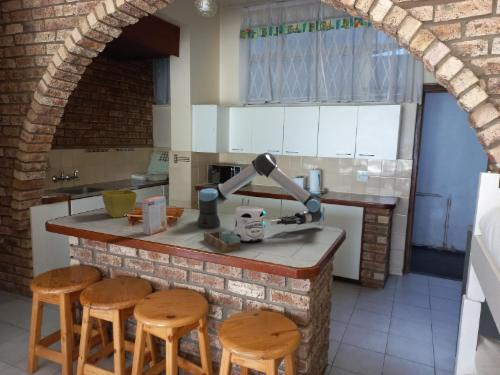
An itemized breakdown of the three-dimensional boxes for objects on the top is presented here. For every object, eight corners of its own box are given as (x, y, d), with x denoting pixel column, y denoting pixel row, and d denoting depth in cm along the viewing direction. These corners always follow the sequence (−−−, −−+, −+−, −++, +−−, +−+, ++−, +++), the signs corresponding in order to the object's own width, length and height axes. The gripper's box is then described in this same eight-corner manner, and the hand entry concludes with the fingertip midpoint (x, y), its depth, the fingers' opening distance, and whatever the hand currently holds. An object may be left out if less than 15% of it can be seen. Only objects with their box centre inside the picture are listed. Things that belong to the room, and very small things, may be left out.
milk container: (255, 246, 189) (256, 213, 186) (228, 241, 197) (228, 209, 195) (269, 238, 204) (270, 207, 201) (243, 233, 212) (244, 204, 210)
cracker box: (159, 228, 220) (158, 195, 217) (167, 230, 217) (166, 196, 214) (142, 234, 209) (141, 199, 205) (149, 235, 205) (148, 200, 202)
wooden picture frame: (203, 239, 199) (203, 232, 198) (218, 237, 204) (218, 229, 203) (224, 252, 179) (224, 243, 178) (240, 249, 184) (240, 241, 183)
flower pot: (128, 211, 267) (127, 189, 264) (138, 216, 252) (137, 192, 250) (102, 214, 255) (100, 191, 252) (111, 219, 240) (109, 195, 238)
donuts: (252, 213, 221) (248, 209, 231) (252, 228, 223) (248, 224, 232) (268, 212, 224) (263, 209, 233) (267, 227, 225) (263, 224, 235)
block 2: (228, 244, 192) (228, 236, 191) (235, 243, 194) (236, 235, 193) (232, 246, 188) (232, 238, 187) (240, 245, 190) (240, 237, 190)
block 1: (220, 240, 199) (220, 232, 198) (227, 238, 202) (227, 231, 201) (224, 242, 195) (224, 234, 195) (231, 241, 198) (231, 233, 197)
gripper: (309, 226, 215) (278, 231, 203) (295, 221, 226) (265, 226, 214) (309, 214, 214) (278, 219, 202) (295, 210, 225) (265, 214, 213)
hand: (271, 222), depth 208 cm, fingers closed
